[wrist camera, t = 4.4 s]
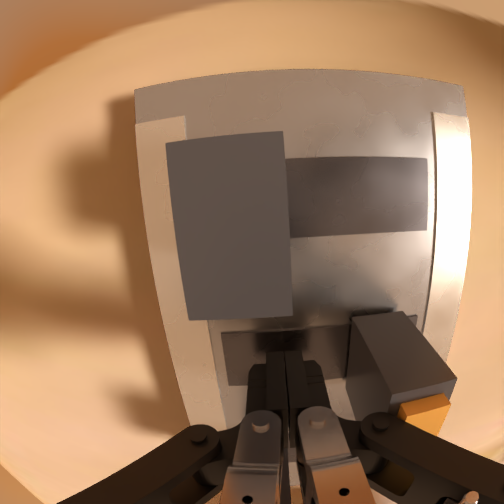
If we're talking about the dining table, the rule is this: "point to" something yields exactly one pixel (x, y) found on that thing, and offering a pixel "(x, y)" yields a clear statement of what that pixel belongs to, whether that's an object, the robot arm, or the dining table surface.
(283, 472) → the block
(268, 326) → the panel
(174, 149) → the block
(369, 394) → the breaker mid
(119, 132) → the dining table surface
